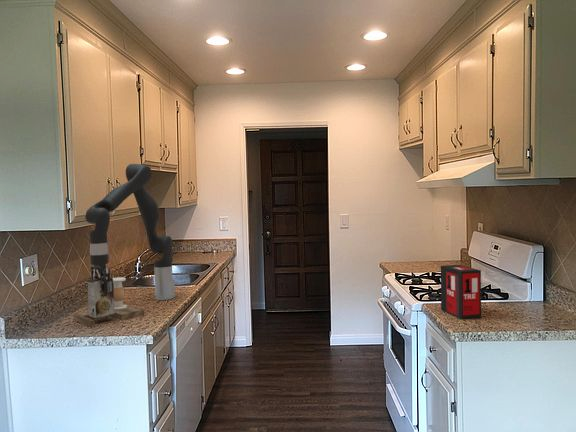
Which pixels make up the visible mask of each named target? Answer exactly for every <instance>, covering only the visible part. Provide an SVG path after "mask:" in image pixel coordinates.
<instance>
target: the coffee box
mask: <svg viewBox="0 0 576 432" xmlns="http://www.w3.org/2000/svg"><path fill="white" fill-rule="evenodd" d="M113 278H114V277H110V282H108V283H107V288H108V291H107V292H102V282H101V279H99V278H96V279H87V280H86V282H87V283H86V285H87V286H86V287H87V301H88V311H89V316H91V317H94V318H97V319H100V318H99V317H102V318H104V317H103V316H106V317H108V316H107V315H111V314H115V307H114V305H115V301H114V290H113V287H114V282H113ZM107 279H108V277H107Z"/></svg>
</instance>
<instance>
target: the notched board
mask: <svg viewBox="0 0 576 432" xmlns="http://www.w3.org/2000/svg"><path fill="white" fill-rule="evenodd" d="M123 305H127V308H126V309H123V310H115V314H111V315H107V316H103V317H99V318H94V317H91V316H89V310H88V311H84V312H80V313H74V314H73V321H75V322H78V323H80V324H82V325H84V326H88V327H90V328H92V327H93V328H94V327H95V326H96V323H95V320H96V319H101V318H106V317H111V318H114V319H117V320H120V321H124V320H130V319H134V318H138V317H143V316H145V309H143V308H139V307H136V306H132V305H129V304H126V303H123Z"/></svg>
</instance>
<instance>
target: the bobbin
mask: <svg viewBox="0 0 576 432" xmlns="http://www.w3.org/2000/svg"><path fill="white" fill-rule="evenodd" d="M112 278H113V290H114V307H115V310H123V309H126V308H127V305H128V304H126V305H123V304H124V300H125V289H124V288H125V286H124V285H123V282H126V281H127V280H126V277H123V276H122V277H121V276H119V277H118V276H117V277H112Z"/></svg>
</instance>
